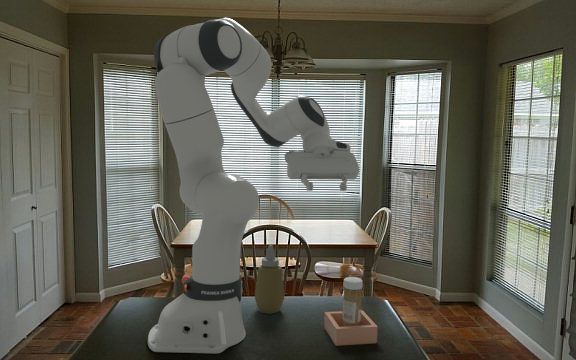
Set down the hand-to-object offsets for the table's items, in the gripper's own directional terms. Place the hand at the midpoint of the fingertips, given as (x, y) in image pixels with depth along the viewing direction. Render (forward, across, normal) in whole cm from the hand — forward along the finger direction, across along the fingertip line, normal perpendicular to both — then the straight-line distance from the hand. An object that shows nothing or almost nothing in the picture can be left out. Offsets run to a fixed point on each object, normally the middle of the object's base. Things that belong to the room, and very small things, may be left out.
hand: (327, 189), depth 126 cm
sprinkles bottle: (+36, +2, +11) cm, 37 cm away
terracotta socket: (+36, +2, +11) cm, 38 cm away
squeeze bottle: (+23, -15, +24) cm, 37 cm away
